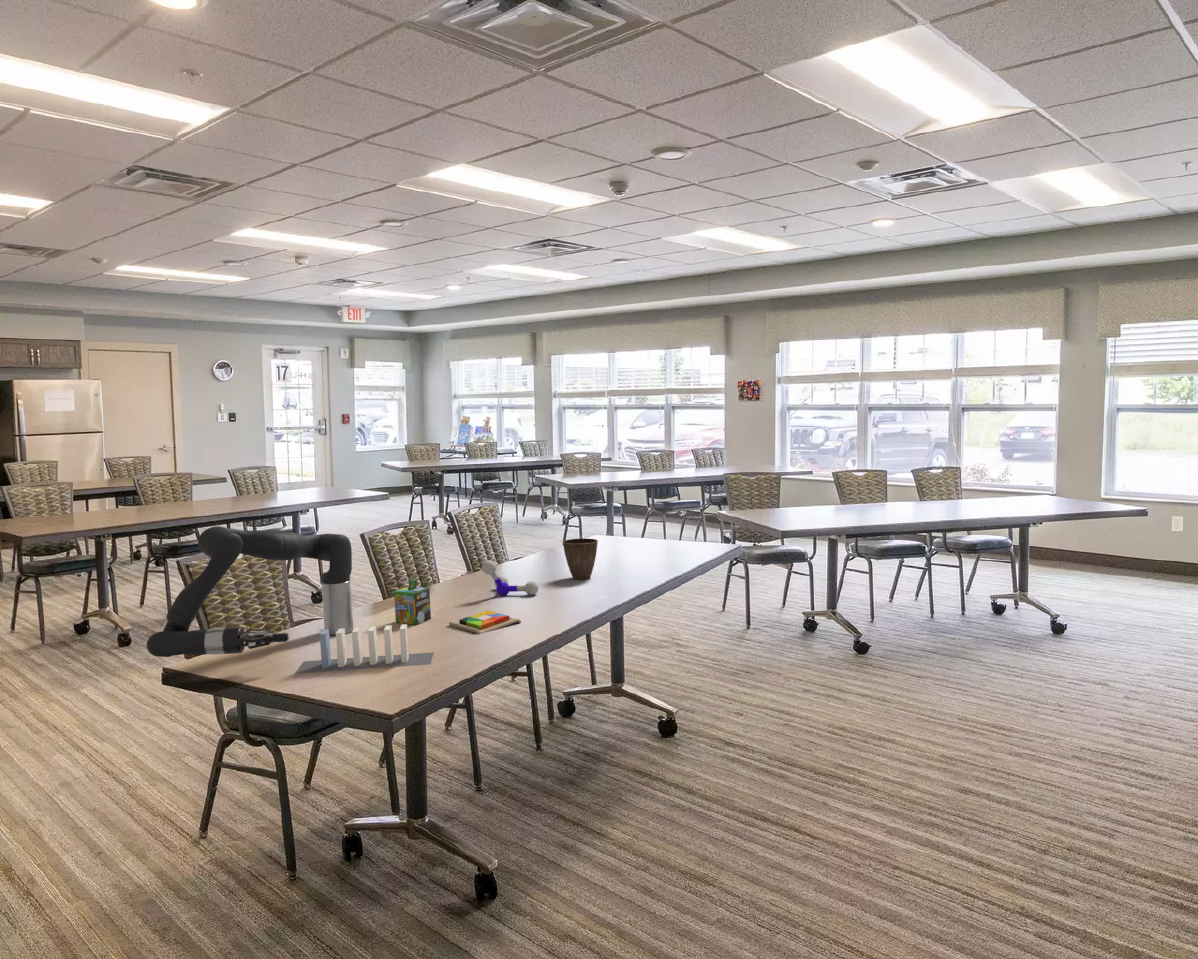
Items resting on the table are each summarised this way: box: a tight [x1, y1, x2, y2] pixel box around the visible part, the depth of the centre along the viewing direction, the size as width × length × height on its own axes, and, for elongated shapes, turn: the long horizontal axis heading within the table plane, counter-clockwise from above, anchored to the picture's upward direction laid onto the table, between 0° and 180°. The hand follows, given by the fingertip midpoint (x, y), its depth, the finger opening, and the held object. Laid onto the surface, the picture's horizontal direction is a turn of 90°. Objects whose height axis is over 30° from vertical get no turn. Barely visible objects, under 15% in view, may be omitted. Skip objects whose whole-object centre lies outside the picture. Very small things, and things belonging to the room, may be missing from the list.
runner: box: [294, 651, 434, 675], centre depth 248 cm, size 38×12×1 cm, turn 97°
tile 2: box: [335, 628, 348, 667], centre depth 246 cm, size 2×5×10 cm, turn 7°
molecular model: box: [481, 560, 539, 597], centre depth 335 cm, size 21×21×15 cm
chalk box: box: [393, 578, 432, 626], centre depth 296 cm, size 9×9×15 cm
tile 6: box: [399, 624, 410, 663], centre depth 248 cm, size 2×5×10 cm, turn 7°
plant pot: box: [562, 537, 599, 581], centre depth 360 cm, size 15×15×16 cm
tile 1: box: [319, 629, 332, 668], centre depth 246 cm, size 2×5×10 cm, turn 7°
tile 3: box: [351, 626, 363, 666], centre depth 247 cm, size 2×5×10 cm, turn 7°
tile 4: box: [367, 625, 379, 665], centre depth 247 cm, size 2×5×10 cm, turn 7°
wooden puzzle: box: [448, 609, 522, 635], centre depth 289 cm, size 17×19×4 cm
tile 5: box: [383, 624, 394, 664], centre depth 248 cm, size 2×5×10 cm, turn 7°
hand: (287, 637), depth 244 cm, fingers closed
